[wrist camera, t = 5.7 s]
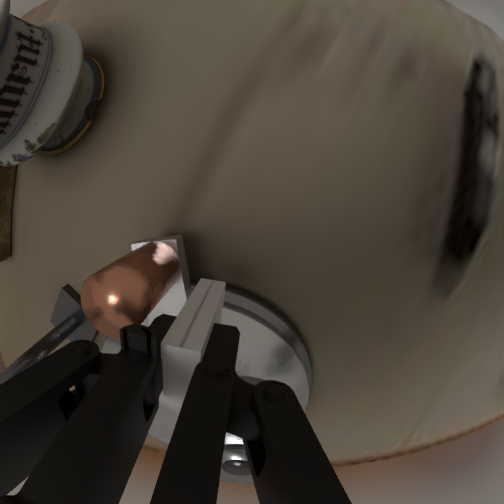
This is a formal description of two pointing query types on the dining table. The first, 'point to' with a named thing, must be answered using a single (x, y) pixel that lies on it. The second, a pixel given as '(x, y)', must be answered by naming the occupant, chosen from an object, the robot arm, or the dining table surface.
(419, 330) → the dining table surface
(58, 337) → the dial gauge stand
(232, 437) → the cover
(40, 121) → the apothecary jar
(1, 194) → the stone block
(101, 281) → the turntable
